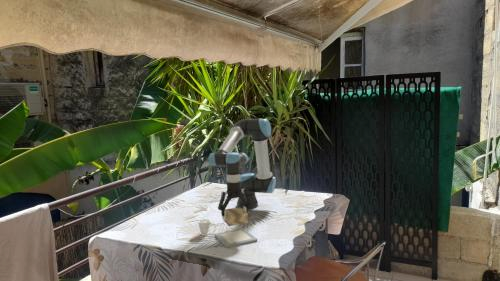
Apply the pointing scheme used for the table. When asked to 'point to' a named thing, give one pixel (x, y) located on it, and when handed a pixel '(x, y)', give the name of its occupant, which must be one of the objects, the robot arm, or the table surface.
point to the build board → (235, 238)
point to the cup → (205, 226)
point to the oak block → (236, 216)
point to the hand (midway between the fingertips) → (235, 219)
